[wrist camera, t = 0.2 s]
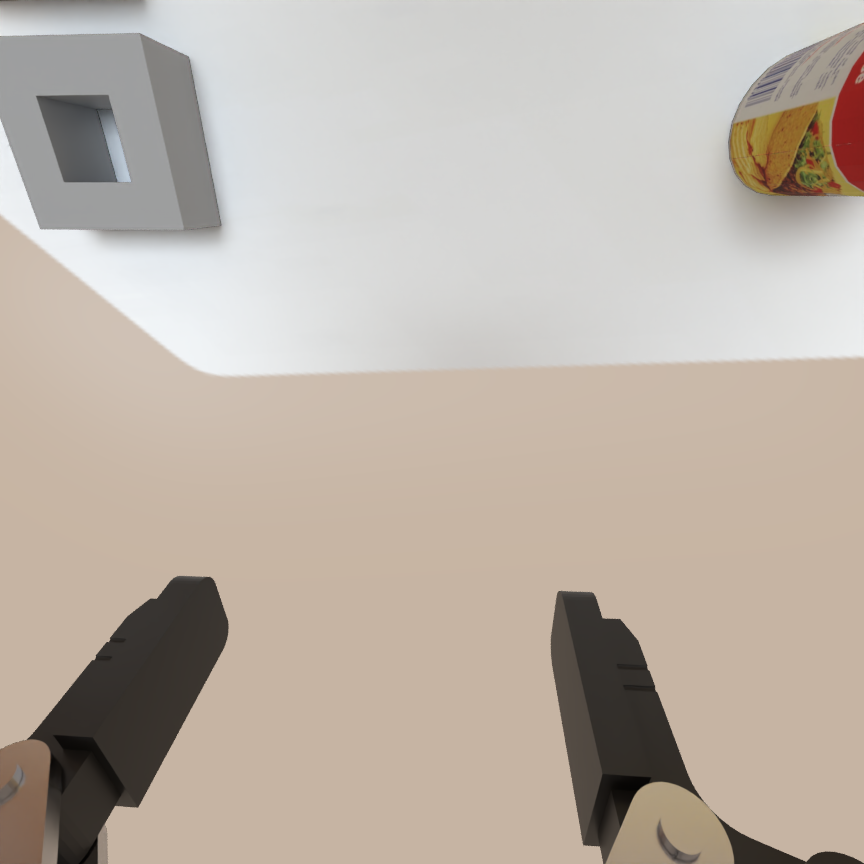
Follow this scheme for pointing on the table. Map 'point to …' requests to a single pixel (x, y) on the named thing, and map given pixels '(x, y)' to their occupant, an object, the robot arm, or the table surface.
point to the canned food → (805, 122)
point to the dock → (84, 140)
